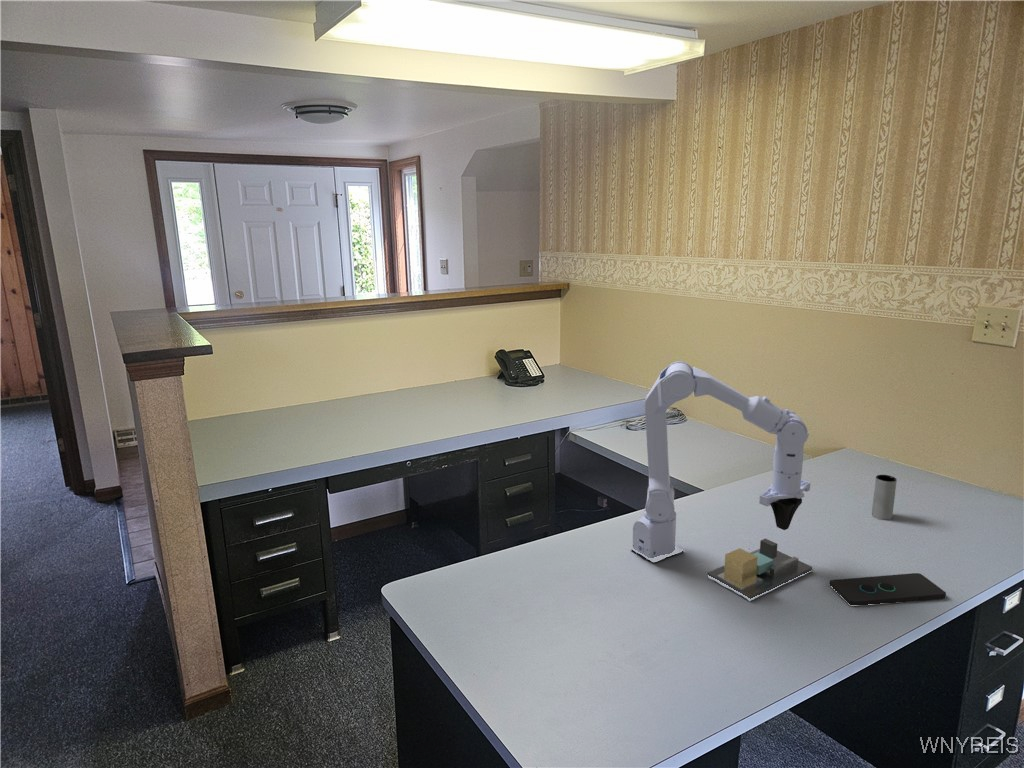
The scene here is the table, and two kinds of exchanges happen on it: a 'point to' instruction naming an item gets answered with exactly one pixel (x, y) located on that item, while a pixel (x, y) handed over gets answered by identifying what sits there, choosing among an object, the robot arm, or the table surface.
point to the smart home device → (887, 589)
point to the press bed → (766, 575)
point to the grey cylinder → (884, 497)
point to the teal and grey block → (766, 555)
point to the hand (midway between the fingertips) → (782, 527)
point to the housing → (740, 566)
